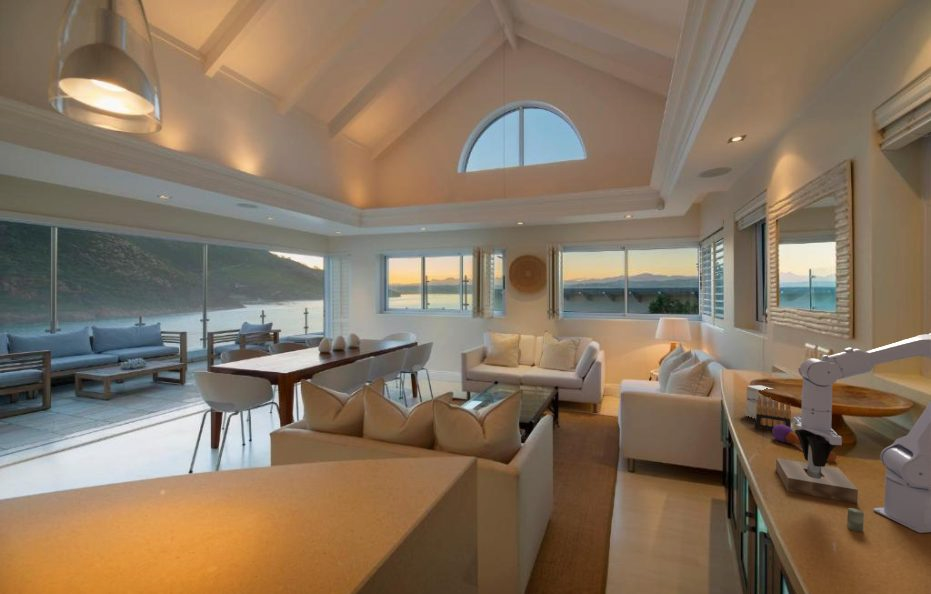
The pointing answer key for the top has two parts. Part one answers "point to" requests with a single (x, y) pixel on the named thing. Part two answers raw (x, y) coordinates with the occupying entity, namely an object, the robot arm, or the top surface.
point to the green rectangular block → (855, 519)
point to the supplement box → (755, 400)
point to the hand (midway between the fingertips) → (814, 463)
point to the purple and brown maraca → (792, 438)
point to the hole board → (816, 481)
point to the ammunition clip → (772, 414)
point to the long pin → (812, 466)
